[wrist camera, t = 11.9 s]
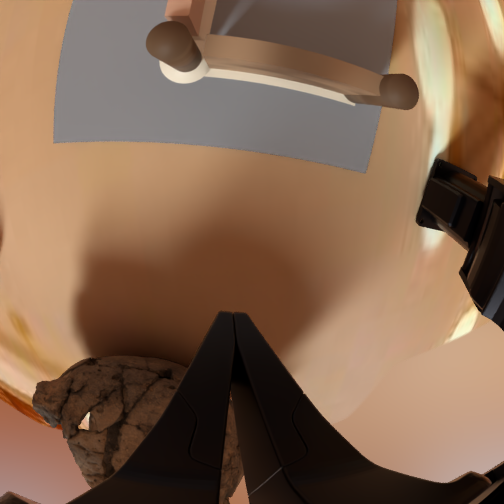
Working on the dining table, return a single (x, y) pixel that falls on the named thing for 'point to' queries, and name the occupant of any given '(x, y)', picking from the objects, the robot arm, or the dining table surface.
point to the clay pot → (121, 413)
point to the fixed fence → (281, 65)
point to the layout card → (221, 79)
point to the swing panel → (186, 13)
